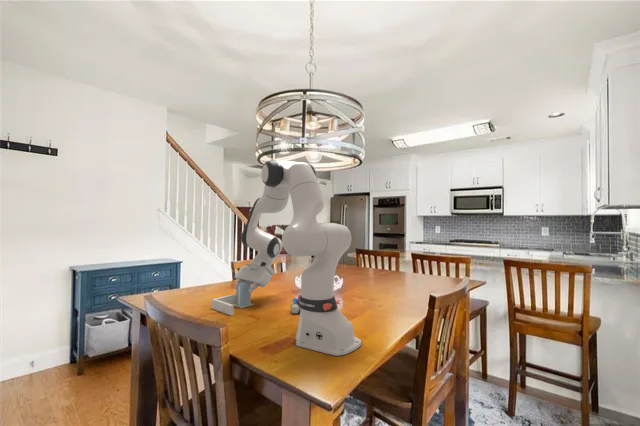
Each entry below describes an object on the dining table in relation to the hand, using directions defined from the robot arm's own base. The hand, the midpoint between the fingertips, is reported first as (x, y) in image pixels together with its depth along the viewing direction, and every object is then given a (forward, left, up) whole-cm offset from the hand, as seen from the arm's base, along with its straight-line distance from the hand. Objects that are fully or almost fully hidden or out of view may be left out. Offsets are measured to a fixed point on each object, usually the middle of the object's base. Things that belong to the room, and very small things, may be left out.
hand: (242, 290), depth 145 cm
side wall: (-2, +11, -7) cm, 13 cm away
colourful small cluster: (-26, -11, -7) cm, 30 cm away
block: (0, -1, -6) cm, 6 cm away
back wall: (+5, +4, -7) cm, 9 cm away
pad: (0, -1, -7) cm, 7 cm away
